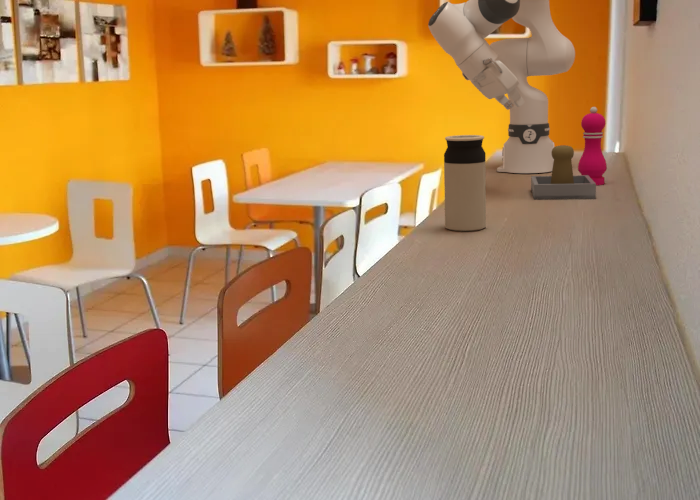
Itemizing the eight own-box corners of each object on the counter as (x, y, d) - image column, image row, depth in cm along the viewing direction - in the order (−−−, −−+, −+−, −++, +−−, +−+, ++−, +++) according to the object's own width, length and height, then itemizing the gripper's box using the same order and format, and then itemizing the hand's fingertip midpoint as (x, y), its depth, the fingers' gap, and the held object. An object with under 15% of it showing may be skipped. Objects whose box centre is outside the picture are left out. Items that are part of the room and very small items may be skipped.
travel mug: (488, 231, 157) (488, 137, 153) (447, 232, 157) (445, 138, 153) (482, 223, 164) (482, 134, 160) (443, 225, 165) (441, 135, 161)
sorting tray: (531, 189, 207) (531, 176, 206) (587, 189, 205) (588, 175, 204) (534, 199, 192) (534, 184, 191) (595, 198, 189) (596, 183, 188)
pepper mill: (603, 181, 216) (605, 105, 212) (608, 185, 209) (611, 106, 205) (575, 182, 217) (576, 106, 213) (580, 186, 210) (581, 107, 206)
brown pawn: (575, 192, 194) (576, 146, 192) (549, 192, 196) (550, 147, 193) (574, 188, 200) (575, 144, 198) (548, 189, 201) (549, 144, 199)
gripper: (500, 47, 185) (539, 93, 187) (479, 59, 205) (514, 101, 207) (479, 66, 185) (518, 112, 187) (461, 76, 205) (496, 117, 207)
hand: (516, 106), depth 197 cm, fingers open, 8 cm apart
